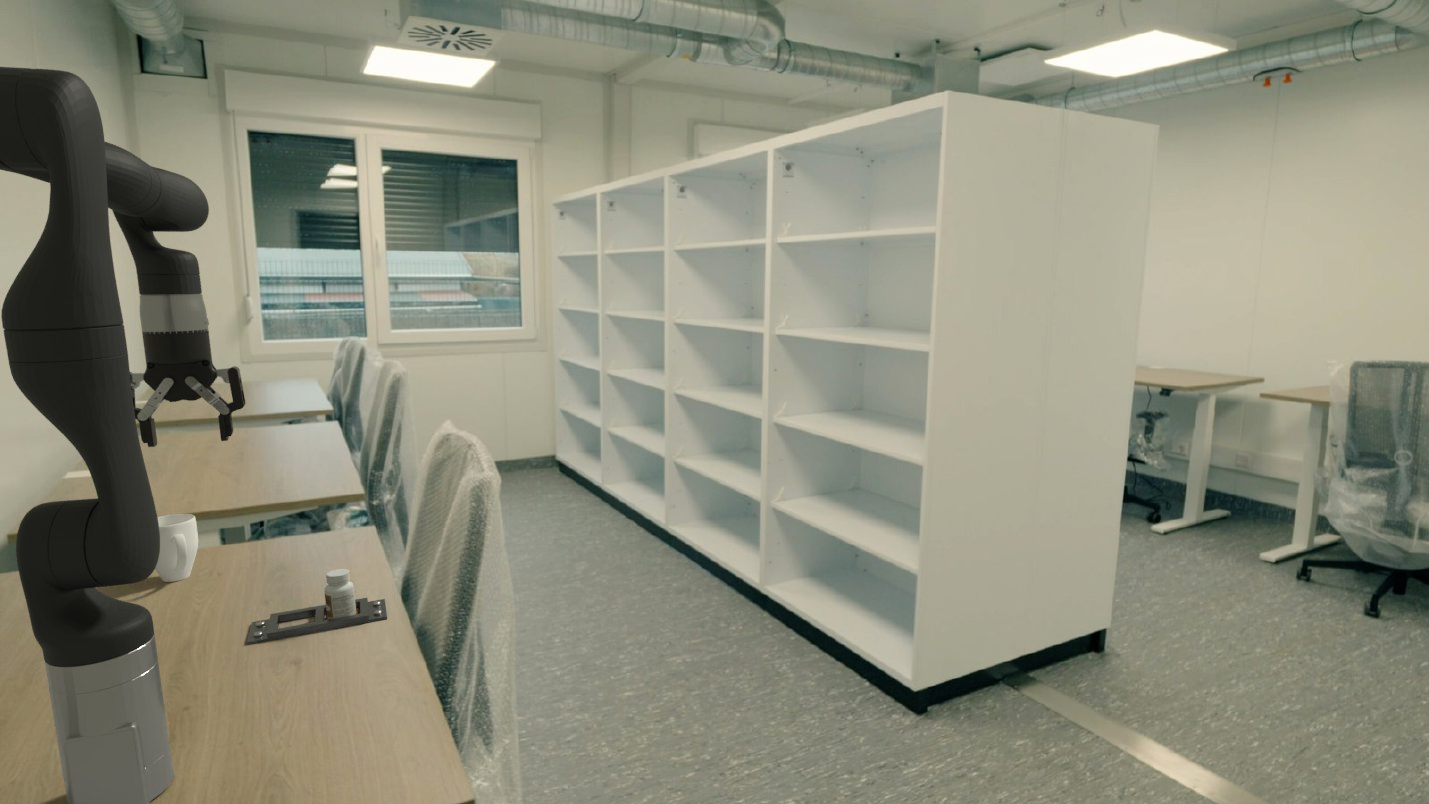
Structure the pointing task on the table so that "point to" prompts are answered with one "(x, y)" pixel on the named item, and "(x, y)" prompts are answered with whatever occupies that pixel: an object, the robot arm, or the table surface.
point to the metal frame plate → (270, 631)
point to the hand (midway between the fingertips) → (189, 443)
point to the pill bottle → (339, 594)
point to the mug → (177, 546)
